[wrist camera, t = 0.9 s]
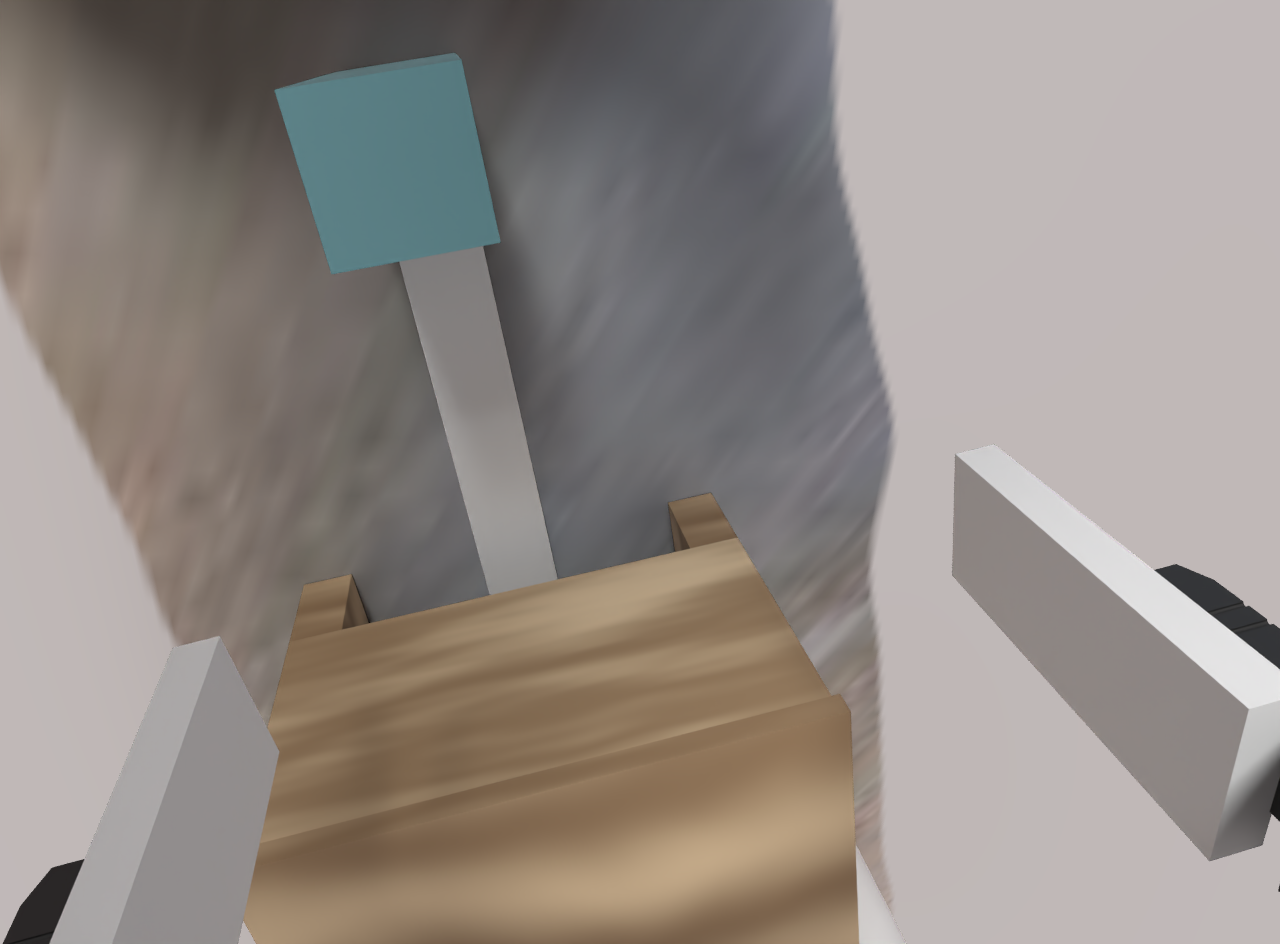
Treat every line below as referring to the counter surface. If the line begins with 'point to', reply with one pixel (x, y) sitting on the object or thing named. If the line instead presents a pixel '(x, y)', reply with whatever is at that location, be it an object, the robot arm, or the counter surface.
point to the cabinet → (561, 765)
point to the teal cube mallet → (429, 270)
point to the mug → (873, 910)
